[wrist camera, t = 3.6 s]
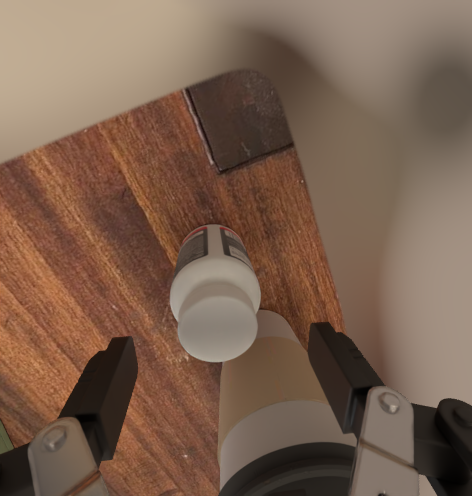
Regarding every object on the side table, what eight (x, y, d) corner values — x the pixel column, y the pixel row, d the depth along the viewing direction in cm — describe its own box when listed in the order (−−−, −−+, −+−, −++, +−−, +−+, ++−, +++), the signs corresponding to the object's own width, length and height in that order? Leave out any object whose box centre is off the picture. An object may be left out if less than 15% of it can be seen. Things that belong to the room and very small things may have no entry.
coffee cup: (224, 384, 28) (243, 631, 14) (199, 314, 24) (190, 547, 10) (308, 361, 28) (414, 583, 14) (295, 288, 24) (418, 484, 10)
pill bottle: (184, 285, 23) (170, 379, 14) (175, 225, 21) (152, 289, 12) (246, 279, 23) (273, 366, 14) (243, 219, 21) (272, 276, 12)
